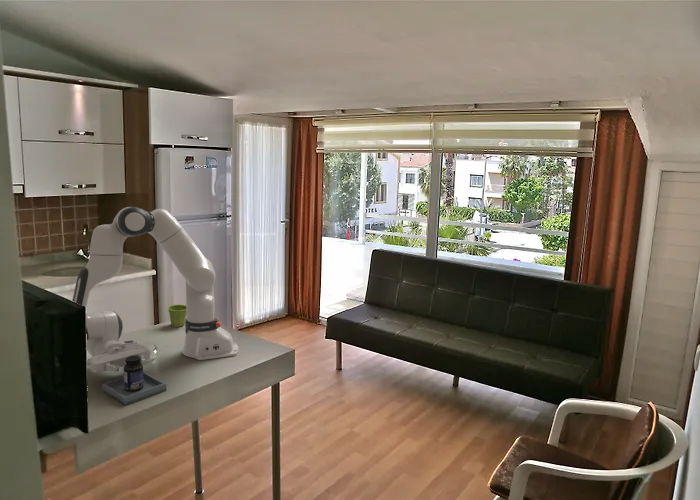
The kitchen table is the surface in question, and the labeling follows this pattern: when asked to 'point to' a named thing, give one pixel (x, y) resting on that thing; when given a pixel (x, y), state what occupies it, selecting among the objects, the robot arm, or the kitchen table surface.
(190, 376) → the kitchen table surface
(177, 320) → the object
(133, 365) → the pill bottle
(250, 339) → the kitchen table surface
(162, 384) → the tray
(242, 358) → the kitchen table surface
